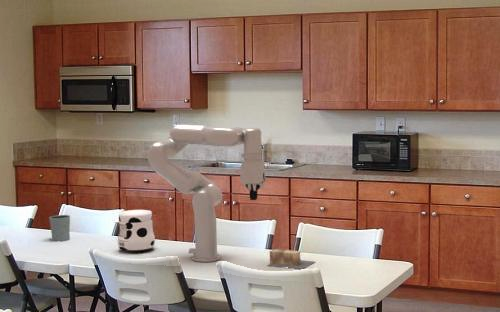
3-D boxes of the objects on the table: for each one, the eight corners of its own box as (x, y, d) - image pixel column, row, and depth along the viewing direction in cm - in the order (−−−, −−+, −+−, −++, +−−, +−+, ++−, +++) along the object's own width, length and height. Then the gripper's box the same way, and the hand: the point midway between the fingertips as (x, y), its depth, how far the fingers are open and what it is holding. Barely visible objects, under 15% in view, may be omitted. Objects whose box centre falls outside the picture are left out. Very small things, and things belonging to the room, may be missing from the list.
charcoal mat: (267, 266, 319) (267, 265, 319) (281, 259, 331) (281, 258, 331) (302, 269, 311) (302, 268, 311) (315, 262, 324) (315, 261, 324)
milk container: (158, 246, 363) (157, 209, 361) (150, 254, 346) (149, 215, 344) (123, 246, 364) (122, 209, 363) (113, 254, 347) (112, 215, 346)
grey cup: (65, 242, 377) (64, 218, 376) (46, 241, 379) (45, 217, 378) (74, 238, 387) (73, 214, 386) (56, 237, 389) (55, 214, 388)
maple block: (269, 251, 323) (295, 253, 317) (274, 248, 327) (300, 251, 321) (269, 262, 323) (295, 265, 318) (274, 260, 327) (300, 262, 322)
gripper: (233, 157, 323) (234, 200, 325) (264, 158, 316) (265, 201, 318) (241, 155, 330) (242, 197, 331) (272, 156, 323) (273, 199, 324)
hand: (253, 199), depth 324 cm, fingers closed
